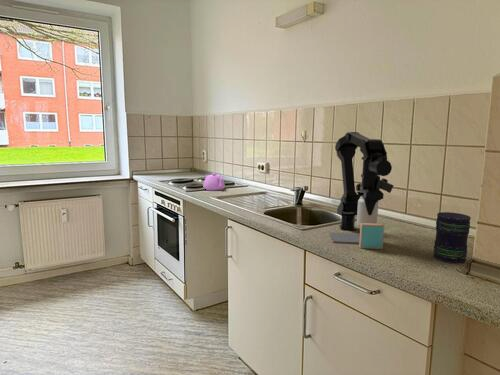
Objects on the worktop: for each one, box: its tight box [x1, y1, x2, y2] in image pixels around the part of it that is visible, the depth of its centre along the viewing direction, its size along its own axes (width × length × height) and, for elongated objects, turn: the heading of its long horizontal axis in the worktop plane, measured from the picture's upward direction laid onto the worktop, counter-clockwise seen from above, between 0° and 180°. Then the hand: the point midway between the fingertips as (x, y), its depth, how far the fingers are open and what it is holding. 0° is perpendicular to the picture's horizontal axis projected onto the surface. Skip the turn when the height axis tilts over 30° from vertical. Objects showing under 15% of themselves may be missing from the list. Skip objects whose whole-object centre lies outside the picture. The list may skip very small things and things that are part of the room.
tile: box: [358, 223, 385, 250], centre depth 129 cm, size 2×8×9 cm, turn 84°
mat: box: [329, 232, 360, 245], centre depth 140 cm, size 12×12×1 cm
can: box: [356, 196, 380, 228], centre depth 136 cm, size 8×8×12 cm
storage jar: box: [432, 211, 471, 265], centre depth 118 cm, size 10×10×15 cm
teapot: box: [202, 172, 226, 192], centre depth 255 cm, size 22×16×12 cm
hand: (367, 212), depth 136 cm, fingers closed on can, 7 cm apart
